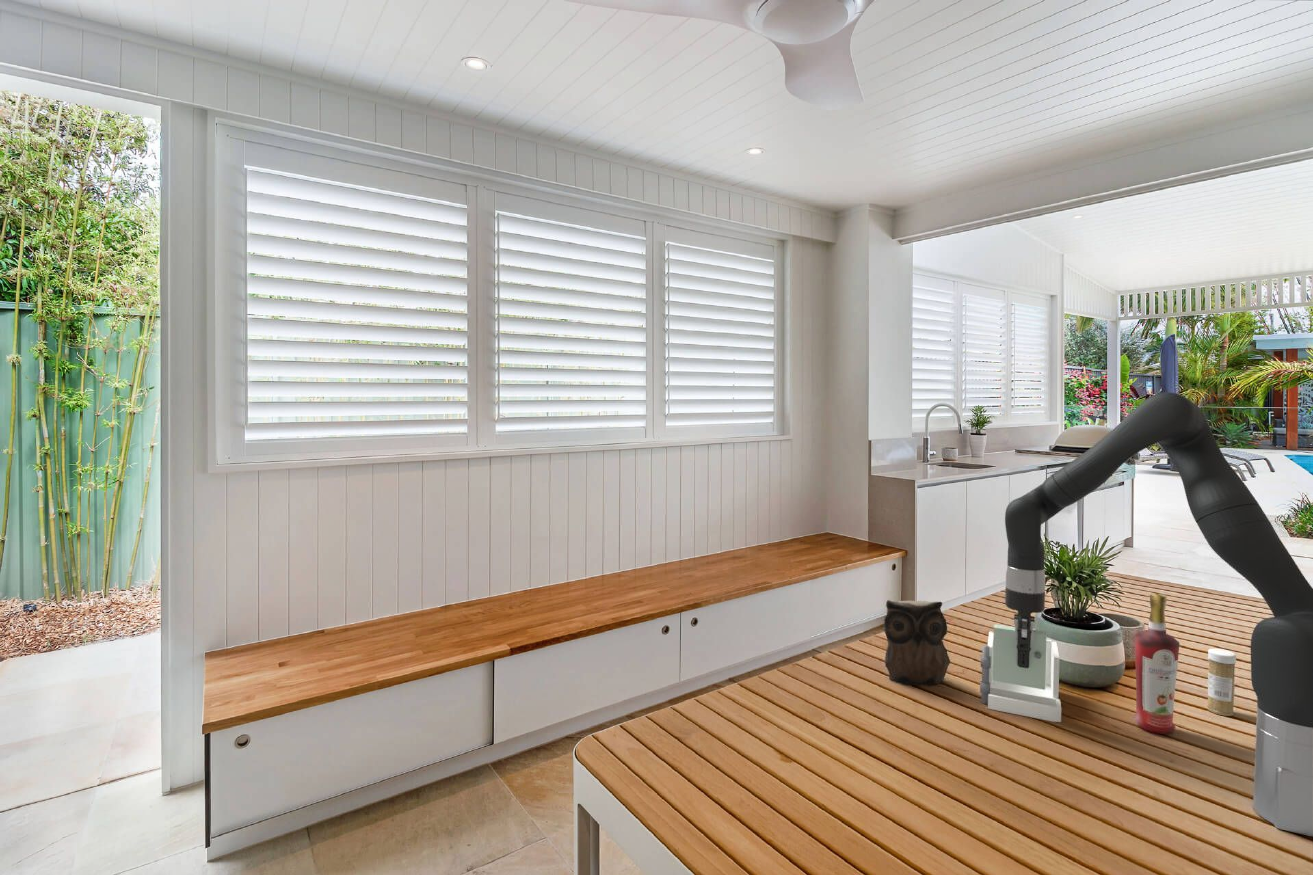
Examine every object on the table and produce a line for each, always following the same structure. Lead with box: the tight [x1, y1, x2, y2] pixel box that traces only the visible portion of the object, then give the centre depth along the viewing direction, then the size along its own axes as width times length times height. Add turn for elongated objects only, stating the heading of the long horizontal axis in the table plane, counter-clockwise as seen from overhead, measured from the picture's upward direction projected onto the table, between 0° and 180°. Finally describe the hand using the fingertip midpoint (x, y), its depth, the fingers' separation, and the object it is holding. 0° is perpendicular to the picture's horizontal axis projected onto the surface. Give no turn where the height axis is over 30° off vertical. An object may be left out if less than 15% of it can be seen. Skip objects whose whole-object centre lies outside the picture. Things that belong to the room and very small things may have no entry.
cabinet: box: [979, 630, 1062, 723], centre depth 148 cm, size 18×16×13 cm
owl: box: [883, 599, 951, 687], centre depth 158 cm, size 13×13×20 cm
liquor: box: [1133, 593, 1180, 735], centre depth 133 cm, size 7×7×28 cm
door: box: [993, 623, 1047, 690], centre depth 142 cm, size 3×10×12 cm, turn 61°
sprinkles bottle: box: [1206, 648, 1237, 717], centre depth 141 cm, size 5×5×14 cm
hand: (1023, 664), depth 142 cm, fingers closed on door, 2 cm apart
